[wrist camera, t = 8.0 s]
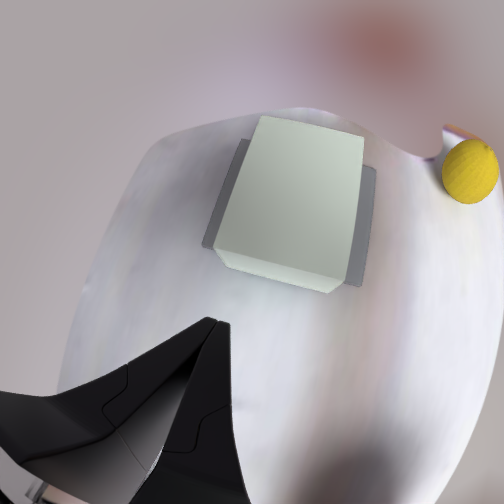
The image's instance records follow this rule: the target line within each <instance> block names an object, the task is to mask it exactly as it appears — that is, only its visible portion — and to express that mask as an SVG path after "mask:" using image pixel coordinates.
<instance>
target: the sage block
mask: <svg viewBox="0 0 504 504" xmlns="http://www.w3.org/2000/svg"><path fill="white" fill-rule="evenodd" d="M363 148H364V138H363V137H360V136H356V135H352V134H349V133H345V132H341V131H337V130H333V129H329V128H325V127H321V126H316V125H312V124H307V123H302V122H298V121H292V120H287V119H282V118H276V117H270V116H263V115H261V117H260V120H259V122H258V125H257V127H256V130H255V132H254V135H253V137H252V140H251V143H250V145H249V148H248V150H247V153H246V156H245V158H244V161H243V164H242V166H241V169H240V172H239V174H238V177H237V180H236V183H235V185H234V188H233V191H232V194H231V196H230V199H229V202H228V205H227V208H226V210H225V213H224V216H223V219H222V222H221V225H220V228H219V230H218V233H217V236H216V239H215V242H214V245H213V248H214V250H215V251H216V253H217V254H218V255H219V257H220V258H221V260H222V261H223V263H224V264H225V266H226V267H228V268H232V269H235V270H239V271H243V272H247V273H250V274H254V275H258V276H262V277H265V278H269V279H273V280H277V281H281V282H285V283H288V284H292V285H296V286H300V287H304V288H308V289H312V290H316V291H320V292H324V293H328V294H329V293H330V292H331V291H333V290H334V289H335V288H336V287H338V286H339V285H340V284H342V283H343V282H344V281H345V277H346V272H347V267H348V262H349V257H350V251H351V245H352V239H353V233H354V227H355V220H356V213H357V206H358V198H359V190H360V181H361V171H362V160H363Z"/></svg>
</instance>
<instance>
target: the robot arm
mask: <svg viewBox="0 0 504 504" xmlns="http://www.w3.org/2000/svg"><path fill="white" fill-rule="evenodd" d="M231 404H232V398H231V339H230V324H229V323H227V322H223V321H218V320H216V319H214V318H210V317H205V318H203V319H201V320H200V321H198V322H196V323H195V324H193V325H191V326H190V327H188V328H186V329H185V330H183V331H181V332H180V333H178V334H176V335H175V336H173V337H171V338H170V339H168V340H166V341H165V342H163V343H161V344H159V345H158V346H156V347H154V348H153V349H151V350H149V351H148V352H146V353H144V354H142V355H141V356H139V357H137V358H135V359H134V360H132V361H130V362H128V364H125V365H123V366H121V367H119V368H118V369H116V370H114V371H112V372H110V373H108V374H106V375H104V376H102V377H100V378H98V379H95V380H93V381H91V382H88V383H86V384H83V385H81V386H78V387H76V388H73V389H71V390H68V391H65V392H63V393H60V394H57V395H53V396H44V397H39V396H31V395H23V394H16V393H10V392H4V391H0V504H251V502H250V499H249V497H248V494H247V491H246V488H245V484H244V480H243V476H242V472H241V467H240V463H239V458H238V454H237V449H236V444H235V438H234V432H233V421H232V405H231ZM163 445H164V447H163ZM162 447H163V449H162ZM161 449H162V453H161V455H160V457H159V460H158V462H157V464H156V466H155V468H154V469H153V471H152V472H151V474H150V475H149V476H148V478H147V479H146V481H145V482H144V483H143V485H142V486H141V487H140V489H139V490H138V488H139V486H140V485H141V483H142V481H143V480H144V478H145V476H146V475H147V473H146V472H148V471H149V469H150V468H151V466H152V464H153V463H154V461H155V459H156V457H157V456H158V454H159V452H160V450H161ZM137 490H138V491H137ZM136 491H137V493H136ZM135 493H136V494H135ZM134 495H135V496H134ZM133 496H134V497H133Z"/></svg>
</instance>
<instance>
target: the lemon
mask: <svg viewBox="0 0 504 504" xmlns="http://www.w3.org/2000/svg"><path fill="white" fill-rule="evenodd" d="M498 175H499V167H498V161H497V159H496V156H495V154H494V152H493V150H492V148H491V147H489V146H488V145H486V144H485V143H483V142H481V141H479V140H475V139H468V140H464V141H462V142H460V143H459V144H457V145H456V146H455V147H454V148H453V149H451V151H450V152H449V153H448V155H447V156H446V158H445V161H444V163H443V167H442V180H443V184H444V186H445V188H446V190H447V192H448V193H449V195H450V196H451V197H452V198H454V199H455V200H456V201H458V202H460V203H464V204H473V203H477V202H480V201H481V200H483V199H484V198H485V197H486V196H488V195H489V194H490V192H491V191H492V190H493V188H494V186H495V184H496V182H497V180H498Z"/></svg>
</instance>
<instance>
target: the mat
mask: <svg viewBox="0 0 504 504" xmlns="http://www.w3.org/2000/svg"><path fill="white" fill-rule="evenodd" d="M250 143H251V140H246V139H241V141H240V144H239V146H238V149H237V151H236V154H235V156H234V159H233V161H232V164H231V166H230V169H229V171H228V174H227V176H226V179H225V182H224V184H223V187H222V190H221V192H220V195H219V197H218V200H217V203H216V206H215V208H214V211H213V214H212V216H211V219H210V222H209V225H208V228H207V230H206V233H205V236H204V239H203V242H202V246H203V247H205V248H209V249H213V250H214V248H213V245H214V242H215V239H216V236H217V233H218V230H219V228H220V225H221V222H222V219H223V216H224V213H225V210H226V208H227V205H228V202H229V199H230V196H231V194H232V191H233V188H234V185H235V183H236V180H237V177H238V174H239V172H240V169H241V166H242V164H243V161H244V158H245V156H246V153H247V150H248V148H249V145H250ZM375 181H376V169H373V168H369V167H366V166H363V165H362V171H361V181H360V190H359V198H358V206H357V213H356V220H355V227H354V233H353V239H352V245H351V251H350V257H349V262H348V267H347V272H346V277H345V281H344V282H343V283H345V284H349V285H353V286H357V287H360V286H362V282H363V276H364V270H365V264H366V258H367V252H368V245H369V238H370V231H371V223H372V214H373V204H374V193H375Z"/></svg>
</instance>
